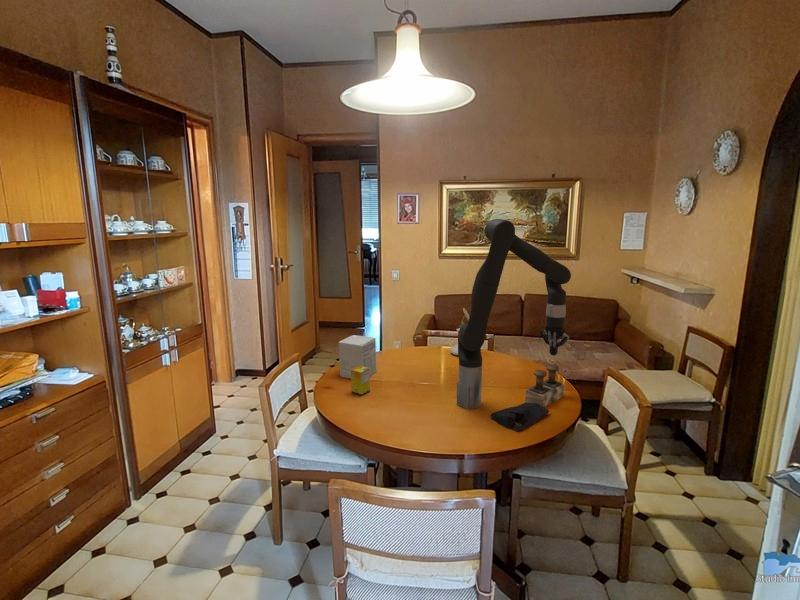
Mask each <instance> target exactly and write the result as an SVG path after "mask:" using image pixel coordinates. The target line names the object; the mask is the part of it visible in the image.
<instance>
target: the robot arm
mask: <svg viewBox="0 0 800 600" xmlns="http://www.w3.org/2000/svg"><path fill="white" fill-rule="evenodd" d="M484 236H485V238H487V240H488V241H489V242H490V245H489V249H488V254H487V256H486V259H485V260H484V261H483V263H482V264H481V266H480V267H479V269H478V271H477V272H476V274H475V278H474V281H473V282H474V283H473V285H472V291H471V297H470V299H471V300H470V314H469V321H468V320H467V323H464V325H463V326H462V327H459V328H460V330H459V333H458V332H457V343H458V355H457V356H458V382H457V383H456V405H458V406H460V407H462V408H465V409H466V410H470V409H476V408H479V407H481V406H482V386H483V385H482V381H483V380H482V379H483V356H482V349H481V348H482V346H483V345H484V343H485V341H486V334H487V328H488V322H489V319H490V315H491V312H492V308H493V306H494V303H495V299H496V295H497V292H498V290H499V285H500V282H501V278H502V273H503V271H504V267H505V263H506V260H507V257H508V254H509V252H511V253H512V254H514V255H515V256H517V257H518V258H519V259H521V260H522V261H523V262H525V263H526V264H527V265H529V266H530V267H532V268H533V269H534V270H535V271H537V272H539V273H542V274H544V281H545V287H546V290H547V298H546V299H547V300H546V307H545V308H546V309H545V327H544V329H542V330H540V331H539V333H540V336H541V337H542V339H543V341H544V343H545V344H546V345H549V354H550V356H554V357H555V356H556V355H558V351H559V347H562V346H564V345H565V343H567V341H568V340H570V338H571V336H570V335H568V334H567V333H566V330H565V326H566V317H567V316H566V315H567V314H566V313H567V312H566V311H567V307H566V305H567V304H566V303H567V302H566V301H567V292H566V291H565V290H564V289H563V287H562V285H566V284H567V283H569V282H570V280H571V276H572V273H571V271H570V268H568V267H567V266H566V265H564V264H562V263H560V262H559V261H557V260H555V259H553V258H551V256H549V255H548V254H546V253H545V252H544V251H542V250H541V249H539V247H536V246H534V245H533V244H531V243H529V242H528V241H525V240H524V239H522V238H520V237H519V236H518V235H516V227H515V225H514V224H513V222H512V221H510V220H507V219H503V218H495V219H491V220H489V221H488V222H487V223H486V225H485V227H484Z"/></svg>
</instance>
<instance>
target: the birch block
mask: <svg viewBox="0 0 800 600" xmlns="http://www.w3.org/2000/svg"><path fill="white" fill-rule="evenodd" d="M565 388H566V387H565V384H563V383H562V382H560V381H557V380H555V382H553V383H552V382H549V381H548V379H546V380H543V388H537V387H536V384H535V385H533V386H531V387H529V388H527V389H525V400H524V401H525V402H528V403H537V404H539V405H541V406H543V407H545V408H546V406H549V405H551V404H552V403H554V402H556V401H558V400H559V399H562V398H563V397H565Z"/></svg>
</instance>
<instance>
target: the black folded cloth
mask: <svg viewBox="0 0 800 600" xmlns="http://www.w3.org/2000/svg"><path fill="white" fill-rule="evenodd" d="M549 412H550V409H549V408H546V406H545V407H543V406H541V405H539V404H537V403H529V402H527V401H525V402H523V403H520V404H518V405H514V406H510V407H507V408H504V409H500V410H497V411H495V412H492V413H490V420H492V421H494V422H496V423H497V424H498V425H500V426H501V427H504V428H505V429H510V430H512V431H516V432H522V431H523V430H524V429H527V428H529V427H530V426H532V425H533V424H535V423H536V422H538V421H540V420H541V419H542V418H544V416H546V415H548V414H549Z"/></svg>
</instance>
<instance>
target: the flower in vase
mask: <svg viewBox="0 0 800 600" xmlns="http://www.w3.org/2000/svg"><path fill="white" fill-rule="evenodd" d="M462 311H463V313H464V316H463V317H462V319H461V323H460V324H459V326H458V327H459V328H456V331H457V334H458V333H459V330H460V328H461V327H462V326H463V325H465V322H464V319H465V318H466V320H467V322H468V321H469V317H470V314H469V313H468V311H467V309H466V308H465V307H463V308H462ZM449 351H450V353H451V355H452V354H453V355H455V356H458V342H457V343H456V344H455V345H453V346H452V347H451V348H450V349H449Z"/></svg>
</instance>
